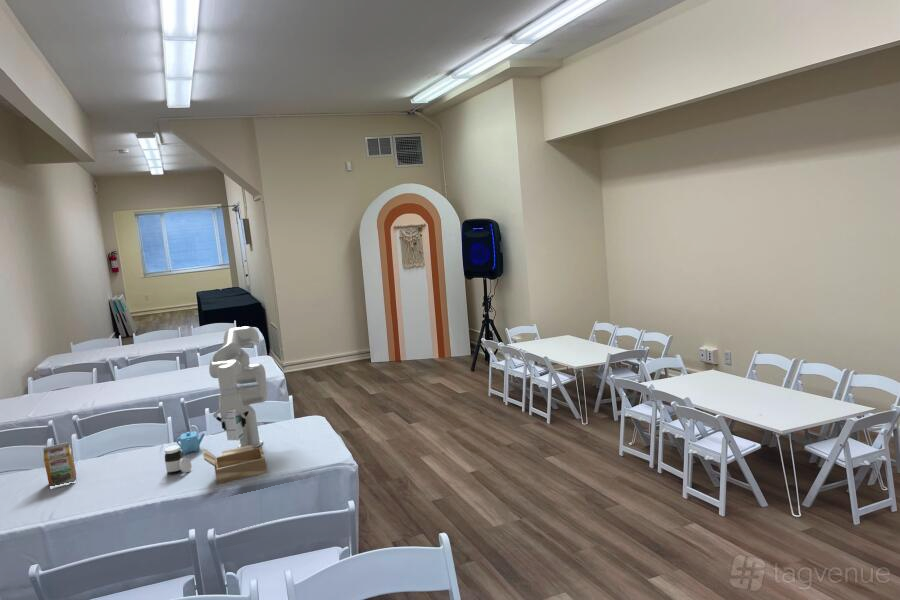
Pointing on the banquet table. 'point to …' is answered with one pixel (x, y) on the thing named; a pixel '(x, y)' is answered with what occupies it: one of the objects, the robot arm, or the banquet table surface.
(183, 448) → the teapot
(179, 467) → the spread jar
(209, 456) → the flap
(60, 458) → the yellow food package
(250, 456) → the wooden square tray
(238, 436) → the syrup box
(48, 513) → the banquet table surface
